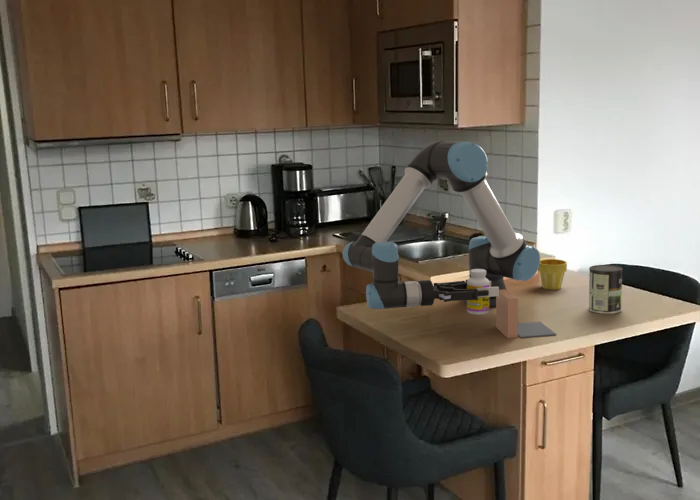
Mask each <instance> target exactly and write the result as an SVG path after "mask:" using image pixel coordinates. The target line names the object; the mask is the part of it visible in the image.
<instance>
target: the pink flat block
mask: <svg viewBox="0 0 700 500" xmlns="http://www.w3.org/2000/svg"><path fill="white" fill-rule="evenodd" d="M506 289H507V288H506ZM506 289H501V290H499V296H496V306H495V328H496V329H497V330H498V331H500V332H501V334H503V335H504V336H505V337H506V338H507V339H513V338H514V339H515V338H518V337H519V336H518V323H519V322H518V321H519V314H518V313H519V298H518V297H517V296H516V295H514V294H513V293H512V292H510V291H509V290H508V289H507V290H506Z"/></svg>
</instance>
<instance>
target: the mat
mask: <svg viewBox="0 0 700 500" xmlns="http://www.w3.org/2000/svg"><path fill="white" fill-rule="evenodd" d="M551 336H557V333H556V332H554V330H552V329H550V328H549V327H548V326H546V325H545V324H544V323H543V322H541V321H529V322H520V323H519V322H518V337H519V338H520V339H525V338H537V337H539V338H540V337H551Z"/></svg>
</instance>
